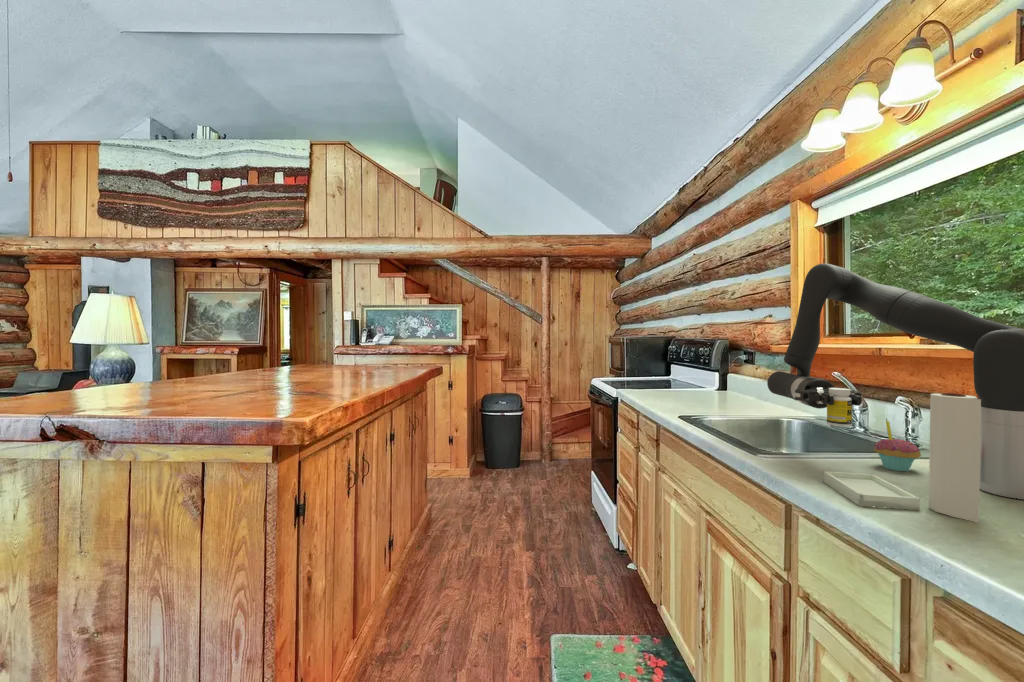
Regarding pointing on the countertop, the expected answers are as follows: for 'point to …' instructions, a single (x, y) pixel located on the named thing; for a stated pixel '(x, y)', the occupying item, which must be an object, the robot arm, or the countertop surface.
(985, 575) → the countertop surface
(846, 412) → the supplement bottle
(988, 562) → the countertop surface
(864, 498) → the tray
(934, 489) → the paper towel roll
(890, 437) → the cupcake
